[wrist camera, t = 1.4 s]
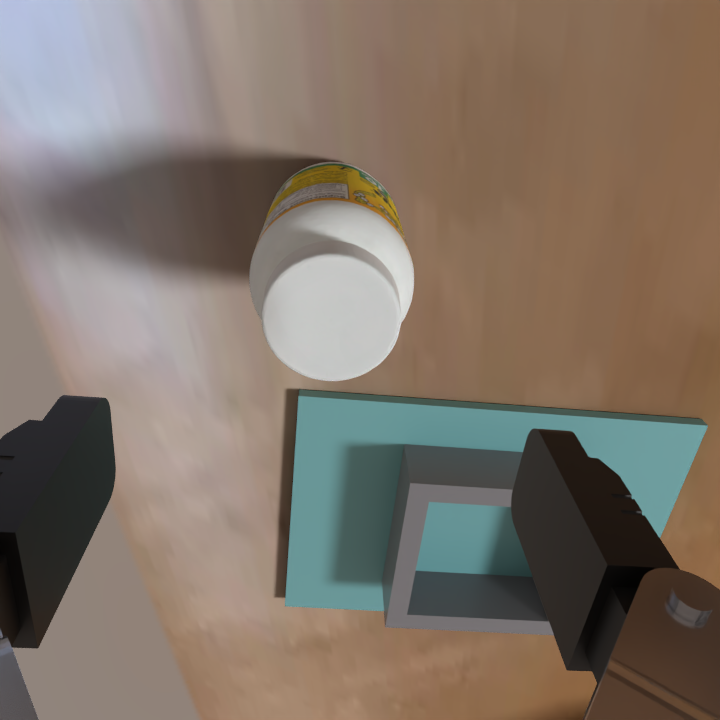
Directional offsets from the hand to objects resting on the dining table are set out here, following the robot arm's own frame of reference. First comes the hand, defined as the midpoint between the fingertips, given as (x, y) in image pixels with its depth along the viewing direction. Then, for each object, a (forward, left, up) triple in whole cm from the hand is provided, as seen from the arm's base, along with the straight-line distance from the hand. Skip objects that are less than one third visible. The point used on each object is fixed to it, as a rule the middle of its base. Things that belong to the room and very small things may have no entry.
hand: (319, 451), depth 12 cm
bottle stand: (-9, +15, -16) cm, 24 cm away
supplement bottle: (0, 0, -16) cm, 16 cm away
